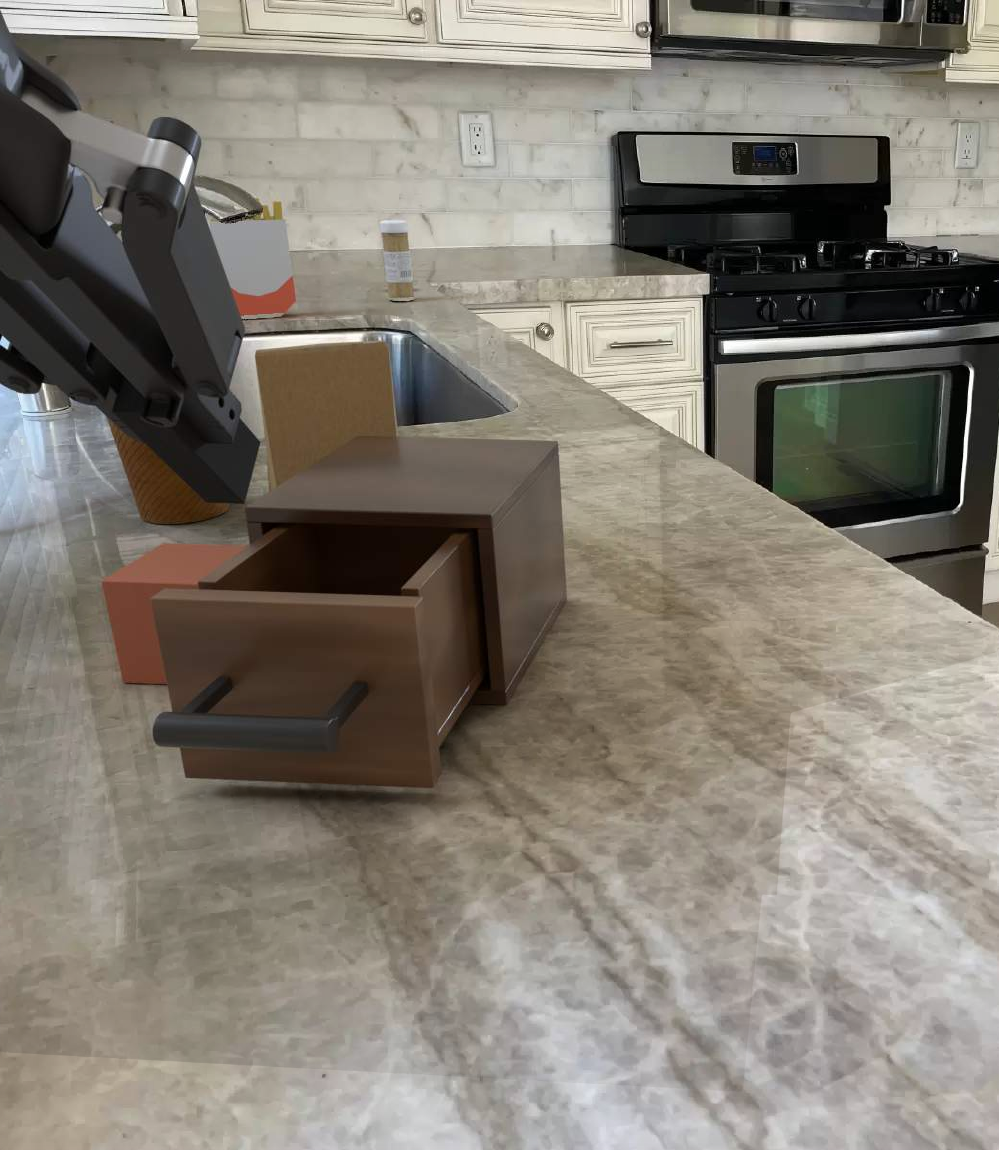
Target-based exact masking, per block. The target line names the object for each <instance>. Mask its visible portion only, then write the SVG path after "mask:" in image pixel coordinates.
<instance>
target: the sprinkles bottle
mask: <svg viewBox="0 0 999 1150" xmlns="http://www.w3.org/2000/svg"><path fill="white" fill-rule="evenodd" d="M379 231H380V235H381V239H382V249H383V250H382V251H383V261H384V271H385V279H386V284H387V292H388V294H387V295H388V297H390V298H409V297H415V293H414V283H413V281H414V279H413V278H414V277H413V268H412V258H411V250H410V244H409V225H408V221H407V220H404V219H403V220H402V219H387V220H381V221H380V222H379Z"/></svg>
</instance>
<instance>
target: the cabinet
mask: <svg viewBox="0 0 999 1150" xmlns="http://www.w3.org/2000/svg"><path fill="white" fill-rule="evenodd" d="M559 452H560V451H559V441H558V440H542V439H541V440H538V439H506V438H505V439H503V438H500V439H499V438H468V437H467V438H463V437H462V438H461V437H430V436H429V437H428V436H427V437H425V436H423V437H422V436H398V437H391V436H356V437H355V438H353V439H351V440H350V441H348V442H347V443H345V444H344V445H342V446H340V447H339V448H337V449H336V450H334V451H332V452H331V453H329V454H328V455H326V456H325V457H323V458H321V459H320V460H318V461H317V462H315V463H314V464H312V465H310V466H309V467H307V468H306V469H304V470H303V471H301V472H299V473H298V474H296V475H295V476H293V477H292V478H290V479H288V480H287V481H285V482H284V483H282V484H280V485H279V486H277V487H276V488H274V489H273V490H271V491H268V492H266V493H264V494H263V495H261V496H260V497H259V498H257V499H255V500H254V501H252V502H250V503H249V504H247V505H245V507H244V508H243V509H244V516H245V521H246V523H245V524H246V529H247V536H248V542H249V545H250V544H252V543H253V542H255V541H256V540H257V539H259V538H260V537H262V536H263V535H264V534H266V533H267V532H269V531H270V530H272V529H273V528H274V527H276V526H277V525H279V524H280V523H303V524H336V525H370V526H403V527H436V528H470V529H478V542H479V554H480V566H481V578H482V589H483V601H484V613H485V625H486V637H487V649H488V661H489V671H488V672H487V674H486V675H485V677H484V679H483V680H482V682H481V683H480V685H479V686H478V688H477V689H476V691H475V692H474V694H473V696H472V697H471V699H470V700H469V702H468V703H467V704H473V705H474V704H475V705H498V706H499V705H502V706H506V705H508V703H509V701H510V700H511V698H512V696H513V695H514V694H515V691H516V689H517V687H518V686H519V685H520V683H521V680H522V679H523V677H524V675H525V673H526V672H527V670H528V668H529V666H530V665H531V663H532V662H533V660H534V658H535V656H536V654H537V653H538V651H539V649H540V648H541V646H542V644H543V643H544V641H545V639H546V637H547V635H548V634H549V632H550V630H551V628H552V627H553V625H554V623H555V622H556V619H557V618H558V616H559V614H560V612H561V611H562V610H563V608H564V606H565V604H566V602H567V601H568V597H567V596H568V595H567V576H566V558H565V557H566V556H565V540H564V537H565V536H564V524H563V523H564V521H563V503H562V485H561V468H560V467H561V466H560V465H561V464H560V454H559Z"/></svg>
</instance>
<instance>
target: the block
mask: <svg viewBox="0 0 999 1150" xmlns="http://www.w3.org/2000/svg"><path fill="white" fill-rule="evenodd" d="M247 546H248V545H241V544H240V545H238V544H236V545H235V544H231V545H230V544H208V543H207V544H206V543H205V544H204V543H203V544H202V543H201V544H200V543H176V542H175V543H174V542H173V543H172V542H171V543H170V542H169V543H168V542H163V543H161V544H160V545H158V546H156V547H154V548H153V549H151V550H150V551H148V552H146V553H144V554H143V555H141V556H139V557H138V558H136V559H135V560H132V562H130V563H128V564H127V565H125V566H123V567H121V568H120V569H118V570H117V571H115V572H113V573H112V574H110V575H108V576H107V577H106V578H104V579H101V586H102V592H103V596H104V601H105V606H106V610H107V615H108V620H109V625H110V629H111V633H112V634H111V635H112V638H113V644H114V648H115V652H116V656H117V657H116V658H117V661H118V666H119V671H120V675H121V681H122V683H124V684H145V685H148V684H149V685H167V682H166V677H165V672H164V667H163V662H162V657H161V652H160V647H159V642H158V636H157V631H156V626H155V621H154V616H153V611H152V606H151V601H150V598H152V597H153V596H154V595H156V594H157V593H159V592H160V591H162V590H163V589H165V588H169V589H199V588H198V581H199V580H201V579H202V578H203V577H205V576H206V575H208V574H209V573H211V572H212V571H213V570H215V569H216V568H218V567H219V566H220V565H222V564H223V563H225V562H226V561H228V560H229V559H230V558H232V557H233V556H235V555H236V554H238V553H239V552H240V551H242V550H243V549H245V548H246V547H247Z"/></svg>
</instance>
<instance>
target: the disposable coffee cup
mask: <svg viewBox="0 0 999 1150" xmlns="http://www.w3.org/2000/svg"><path fill="white" fill-rule="evenodd" d="M105 417H106V421H107V424H108V427H109V430H110V433H111V435H112V437H113V441H114V444H115V447H116V449H117V452H118V455H119V458H120V460H121V465H122V467H123V470H124V472H125V475H126V479H127V482H128V485H129V487H130V491H131V493H132V496H133V498H134V503H135V504H136V508H137V511H138V515H139V516H140V517H139V518H140V519H141V520H142V521H144V522H148V523H152V524H158V525H159V524H160V525H178V524H179V525H180V524H186V523H195V522H200V521H205V520H208V519H212V518H215V517H219V516H220V515H222V514H224V513H225V512H227V511H228V510H229V508H230V503H206V502H205V501H204V500H203V499H202V498H201V497H200V496H199V495H198V494H197V493H196V492H195V491H194V490H193V489H192V488H191V487H190V486H189V485H188V484H187V483H186V482H184V481H183V480H182V479H181V478H180V477H179V476H178V475H177V474H176V473H175V472H174V471H173V470H172V469H171V468H170V467H169V466H168V465H167V464H166V463H165V462H164V461H163V460H162V459H161V458H160V457H159V456H158V455H156V454H155V453H154V452H153V451H152V450H151V449H150V448H149V447H148V446H147V445H146V444H145V443H139V442H138V441H136V440H134V439H132V438H130V437H129V436H127V435H126V434H125V433H123V432H122V431H121V430H120V429H119V428H118V426H116V425H115V424H114V423H113V422H112V421H111V420H110V419H109V418H108V417H107V416H106V415H105Z"/></svg>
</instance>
